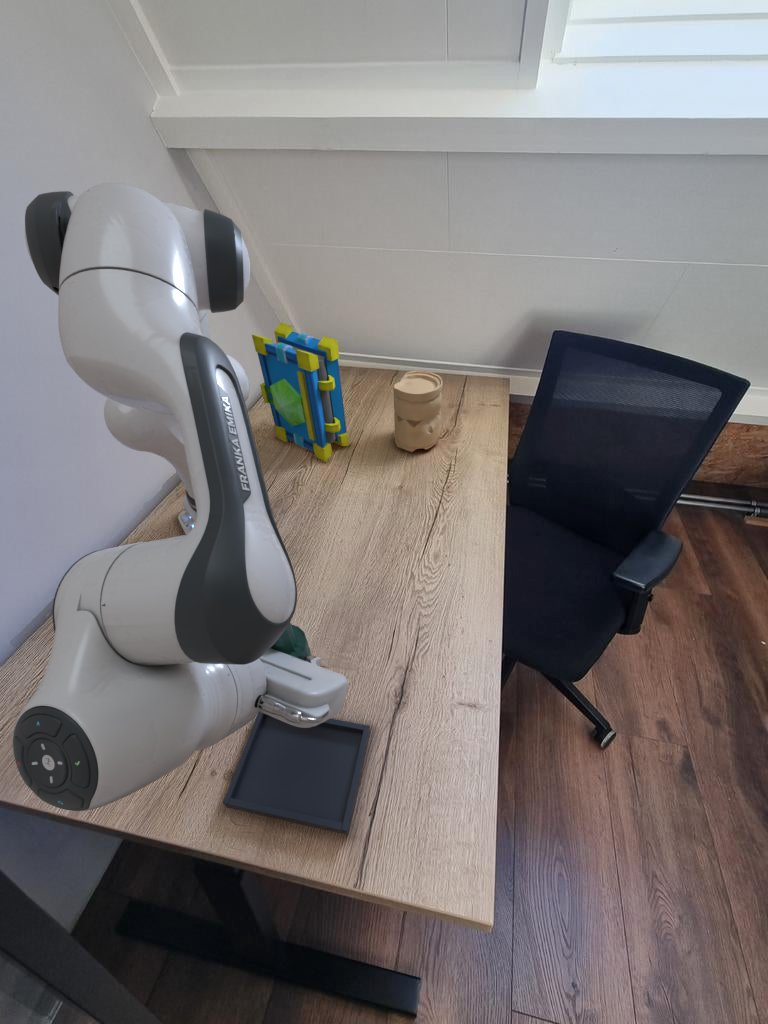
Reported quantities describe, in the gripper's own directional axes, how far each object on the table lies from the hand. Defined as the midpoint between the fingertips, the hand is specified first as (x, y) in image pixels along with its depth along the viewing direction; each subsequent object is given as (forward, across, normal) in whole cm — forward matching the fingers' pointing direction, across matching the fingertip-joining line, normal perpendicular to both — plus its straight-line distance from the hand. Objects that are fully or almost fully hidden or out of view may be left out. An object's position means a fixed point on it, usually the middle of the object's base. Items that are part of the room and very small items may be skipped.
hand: (290, 653), depth 56 cm
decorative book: (+64, +39, -34) cm, 83 cm away
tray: (+11, -1, +20) cm, 23 cm away
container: (+71, +11, -41) cm, 83 cm away
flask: (+6, 0, +7) cm, 9 cm away
